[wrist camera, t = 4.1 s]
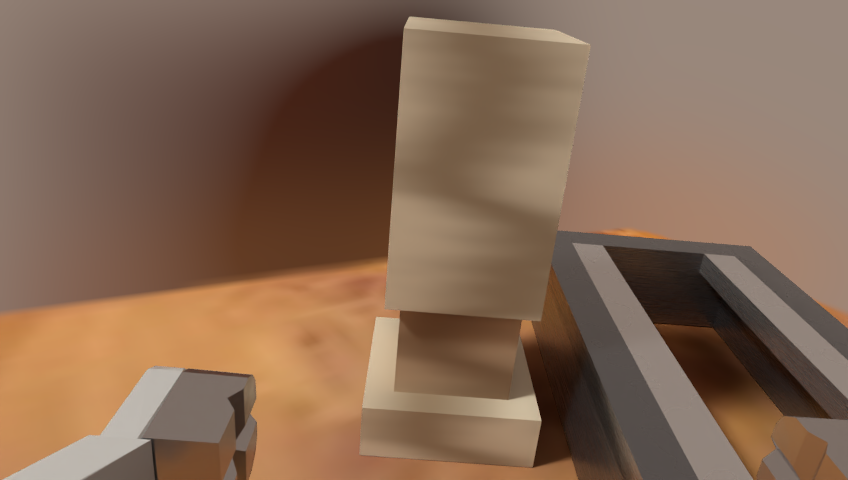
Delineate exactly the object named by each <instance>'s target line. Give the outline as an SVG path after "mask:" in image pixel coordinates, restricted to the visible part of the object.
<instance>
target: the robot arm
mask: <svg viewBox="0 0 848 480" xmlns="http://www.w3.org/2000/svg"><path fill="white" fill-rule="evenodd" d="M255 400H256V384H255V379H254V377H253V375H249V374H239V373H229V372H218V371H208V370H198V369H185V368H175V367H162V366H154V367H152V368H149V369H148V370H147V371H146V372H145V373H144V375H143V376H142V378H141V379H140V380H139V382H138V383H137V384H136V386H135V387H134V389H133V390H132V391H131V393H130V394H129V396H128V397H127V398H126V400H125V401H124V403H123V404H122V405H121V407H120V408H119V409H118V411H117V412H116V414H115V415H114V416H113V418H112V419H111V421H110V422H109V423H108V425H107V426H106V428H105V429H104V430H103V432H102V433H101V434H100V436H93V435H88V436H86V437H85V438H83V439H81V440H79V441H77V442H75V443H73V444H71V445H69V446H67V447H65V448H63V449H61V450H59V451H57V452H55V453H53V454H51V455H50V456H48V457H46V458H44V459H42V460H40V461H38V462H36V463H34V464H32V465H30V466H28V467H26V468H24V469H22V470H20V471H18V472H16V473H15V474H13V475H11V476H9V477H7V478H5V479H3V480H249V477H250V474H251V471H252V466H253V461H254V456H255V451H256V440H257V422H256V421H255V419H254V418H253V417H252V416H251V414H250V413H251V410H252V408H253V405H254V403H255ZM771 438H772V440H773V442H774V445H775V447H776V449H775V450H774V451H773V452H771V453H770V454H769V455H767V456H766V457H765V458H763V459H762V462H761V465H760V468H759V471H758V474H757V480H848V420H839V419H824V418H809V417H794V416H783V417H782V418H781V419H780V420H779V421H778V422H777V423H776V425H775V428H774V430H773V433H772V435H771Z"/></svg>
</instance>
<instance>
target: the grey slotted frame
mask: <svg viewBox="0 0 848 480" xmlns="http://www.w3.org/2000/svg"><path fill="white" fill-rule="evenodd" d="M652 322H654V323H667V324H680V325H692V326H705V327H713V328H714V329H715V330H716V332H717V333H718V334H719V335H720V336H721V338H722V339H723V340H724V341H725V343H726V344H727V345H728V346H729V348H730V349H731V350H732V351H733V353H734V354H735V355H736V356H737V358H738V359H739V360H740V361H741V362H742V364H743V365H744V366H745V367H746V369H747V370H748V371H749V372H750V374H751V375H752V376H753V377H754V379H755V380H756V381H757V382H758V384H759V385H760V386H761V387H762V389H763V390H764V391H765V392H766V393H767V395H768V396H769V397H770V398H771V400H772V401H773V402H774V403H775V405H776V406H777V407H778V408H779V410H780V411H781V412H782V413H783V415H784V416H794V417H809V418H824V419H839V420H848V329H847V328H846V327H845V326H844V325H843V324H842V323H840V322H839V321H838V320H837V319H836V318H834V317H833V316H832V315H831V314H830V313H829V312H827V311H826V310H825V309H824V308H823V307H821V306H820V305H819V304H818V303H817V302H815V301H814V300H813V299H812V298H811V297H810V296H808V295H807V294H806V293H805V292H804V291H802V290H801V289H800V288H799V287H797V285H795V284H794V283H793V282H792V281H790V280H789V279H788V278H787V277H786V276H785V275H784V274H782V273H781V272H780V271H779V270H778V269H776V268H775V267H774V266H773V265H772V264H770V263H769V262H768V261H767V260H766V259H765V258H763V257H762V256H761V255H760V254H759V253H757V252H756V251H755V250H754V249H752V247H750V246H738V245H726V244H714V243H701V242H690V241H678V240H666V239H653V238H641V237H629V236H617V235H605V234H593V233H581V232H568V231H557V235H556V240H555V246H554V251H553V257H552V262H551V268H550V273H549V279H548V284H547V290H546V295H545V301H544V306H543V312H542V317H541V321H532V324H533V328H534V331H535V335H536V338H537V341H538V345H539V348H540V351H541V355H542V358H543V362H544V365H545V368H546V372H547V375H548V378H549V382H550V385H551V389H552V392H553V395H554V399H555V402H556V405H557V409H558V412H559V416H560V419H561V422H562V426H563V429H564V432H565V436H566V439H567V443H568V446H569V449H570V453H571V456H572V459H573V463H574V466H575V470H576V473H577V476H578V480H753V478H752V477H751V475H750V474H749V472H748V471H747V469H746V467H745V466H744V464H743V463H742V461H741V460H740V458H739V457H738V455H737V453H736V452H735V450H734V449H733V447H732V446H731V444H730V443H729V441H728V439H727V438H726V436H725V435H724V433H723V432H722V430H721V429H720V427H719V425H718V424H717V422H716V421H715V419H714V418H713V416H712V415H711V413H710V411H709V410H708V408H707V407H706V405H705V404H704V402H703V401H702V399H701V397H700V396H699V394H698V393H697V391H696V390H695V388H694V387H693V385H692V383H691V382H690V380H689V379H688V377H687V376H686V374H685V373H684V371H683V369H682V368H681V366H680V365H679V363H678V362H677V360H676V359H675V357H674V355H673V354H672V352H671V351H670V349H669V348H668V346H667V345H666V343H665V341H664V340H663V338H662V337H661V335H660V334H659V332H658V331H657V329H656V327H655V326H654V324H653V323H652Z"/></svg>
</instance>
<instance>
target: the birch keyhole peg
mask: <svg viewBox="0 0 848 480" xmlns="http://www.w3.org/2000/svg"><path fill="white" fill-rule="evenodd" d="M590 46H591V45H590V44H587V43H585V42H583V41H581V40H578V39H576V38H573V37H571V36H569V35H567V34H564V33H562V32H560V31H557V30H551V29H540V28H529V27H518V26H507V25H496V24H484V23H474V22H463V21H452V20H440V19H430V18H419V17H409V19H408V21H407V23H406V25H405V27H404V35H403V49H402V65H401V78H400V93H399V108H398V123H397V136H396V151H395V165H394V181H393V194H392V209H391V223H390V237H389V252H388V253H389V254H388V266H387V281H386V295H385V309H390V310H400V319H397V318H384V317H376V321H375V328H374V334H373V341H372V347H371V354H370V360H369V367H368V373H367V379H366V386H365V392H364V399H363V405H362V419H361V436H360V454H359V455H365V456H379V457H393V458H407V459H421V460H435V461H449V462H462V463H476V464H490V465H504V466H518V467H532V468H533V463H534V458H535V452H536V447H537V442H538V437H539V432H540V427H541V422H542V420H541V417H540V413H539V409H538V405H537V401H536V397H535V393H534V389H533V385H532V381H531V377H530V373H529V369H528V365H527V361H526V357H525V353H524V349H523V345H522V341H521V337H520V328H521V322H522V320H531V321H541V317H542V312H543V306H544V301H545V295H546V290H547V284H548V279H549V273H550V268H551V262H552V257H553V251H554V246H555V240H556V235H557V229H558V223H559V218H560V212H561V207H562V201H563V196H564V190H565V184H566V179H567V174H568V168H569V162H570V157H571V152H572V146H573V140H574V135H575V130H576V124H577V119H578V113H579V108H580V102H581V96H582V90H583V85H584V80H585V74H586V69H587V63H588V58H589V52H590Z"/></svg>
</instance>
